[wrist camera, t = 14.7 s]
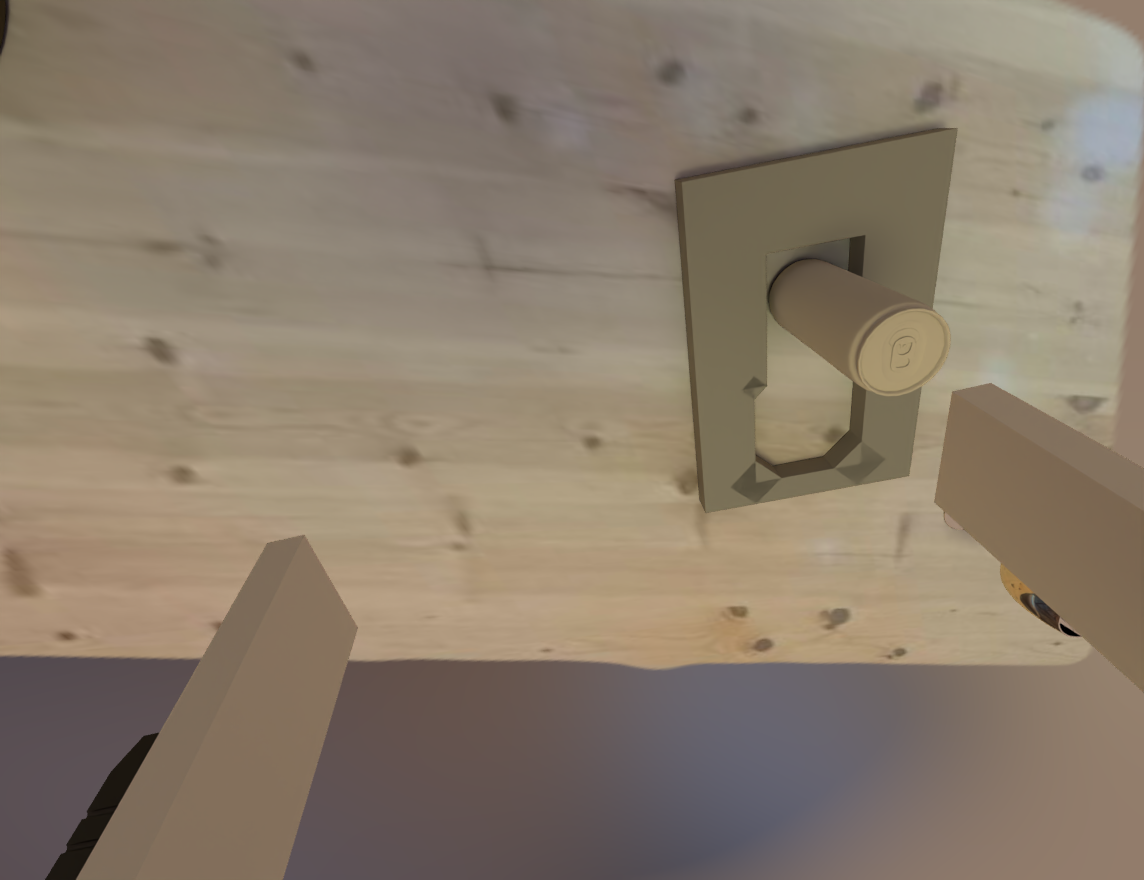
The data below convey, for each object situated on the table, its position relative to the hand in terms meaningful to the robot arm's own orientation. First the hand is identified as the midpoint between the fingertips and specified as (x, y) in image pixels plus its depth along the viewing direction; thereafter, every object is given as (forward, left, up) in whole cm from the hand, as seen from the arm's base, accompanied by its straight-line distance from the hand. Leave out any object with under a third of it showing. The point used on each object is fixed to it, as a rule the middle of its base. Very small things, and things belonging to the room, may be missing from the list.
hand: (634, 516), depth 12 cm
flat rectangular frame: (+9, +16, -28) cm, 33 cm away
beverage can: (+5, +15, -28) cm, 32 cm away
